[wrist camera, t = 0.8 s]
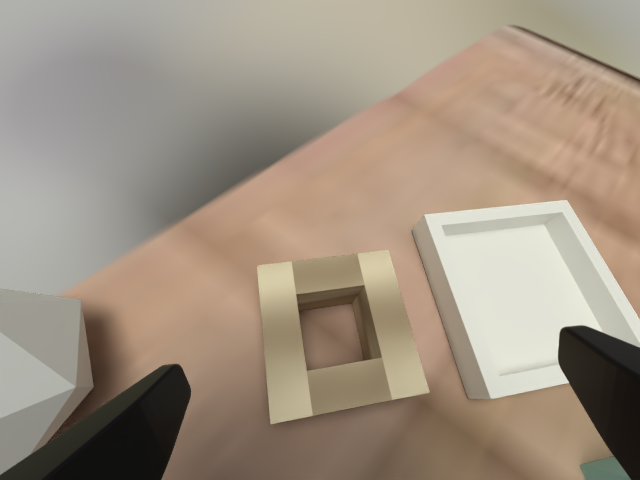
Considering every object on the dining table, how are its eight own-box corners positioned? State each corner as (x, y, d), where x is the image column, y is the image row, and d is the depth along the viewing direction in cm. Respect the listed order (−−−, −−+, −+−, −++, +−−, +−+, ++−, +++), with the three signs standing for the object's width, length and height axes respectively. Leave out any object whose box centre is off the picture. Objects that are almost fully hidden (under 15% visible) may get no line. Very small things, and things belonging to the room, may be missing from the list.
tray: (626, 365, 21) (665, 362, 19) (467, 398, 19) (491, 399, 17) (543, 216, 26) (566, 199, 24) (411, 231, 25) (424, 214, 22)
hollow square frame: (403, 392, 19) (429, 392, 16) (274, 418, 18) (270, 424, 14) (372, 272, 23) (388, 249, 19) (262, 287, 21) (257, 265, 18)
